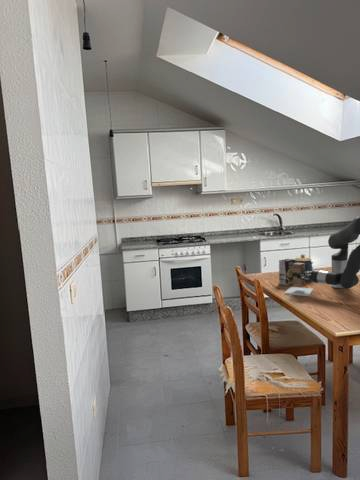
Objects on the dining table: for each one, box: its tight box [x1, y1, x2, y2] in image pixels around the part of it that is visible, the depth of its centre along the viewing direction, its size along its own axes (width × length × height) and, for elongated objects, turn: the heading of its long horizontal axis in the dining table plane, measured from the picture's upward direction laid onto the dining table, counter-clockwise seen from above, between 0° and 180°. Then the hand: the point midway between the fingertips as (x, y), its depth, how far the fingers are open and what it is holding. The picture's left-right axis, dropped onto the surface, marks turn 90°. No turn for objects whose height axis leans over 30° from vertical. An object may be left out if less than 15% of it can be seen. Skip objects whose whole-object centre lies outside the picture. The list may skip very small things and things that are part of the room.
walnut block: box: [292, 263, 306, 288], centre depth 226 cm, size 5×5×14 cm
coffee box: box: [278, 258, 295, 286], centre depth 248 cm, size 9×6×16 cm
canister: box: [294, 253, 314, 282], centre depth 257 cm, size 13×13×18 cm
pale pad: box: [284, 286, 314, 297], centre depth 227 cm, size 14×14×1 cm
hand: (295, 273), depth 227 cm, fingers closed on walnut block, 5 cm apart
